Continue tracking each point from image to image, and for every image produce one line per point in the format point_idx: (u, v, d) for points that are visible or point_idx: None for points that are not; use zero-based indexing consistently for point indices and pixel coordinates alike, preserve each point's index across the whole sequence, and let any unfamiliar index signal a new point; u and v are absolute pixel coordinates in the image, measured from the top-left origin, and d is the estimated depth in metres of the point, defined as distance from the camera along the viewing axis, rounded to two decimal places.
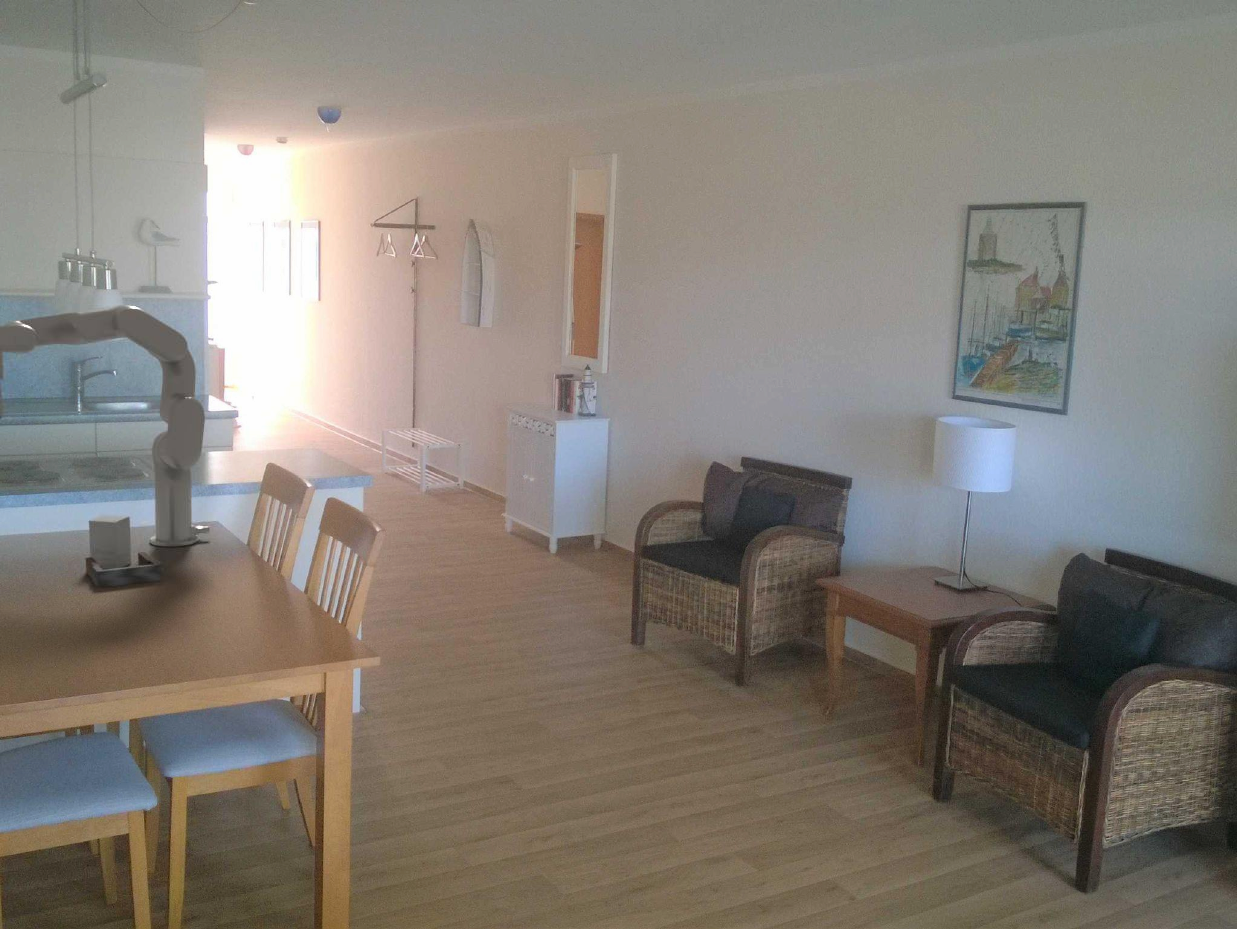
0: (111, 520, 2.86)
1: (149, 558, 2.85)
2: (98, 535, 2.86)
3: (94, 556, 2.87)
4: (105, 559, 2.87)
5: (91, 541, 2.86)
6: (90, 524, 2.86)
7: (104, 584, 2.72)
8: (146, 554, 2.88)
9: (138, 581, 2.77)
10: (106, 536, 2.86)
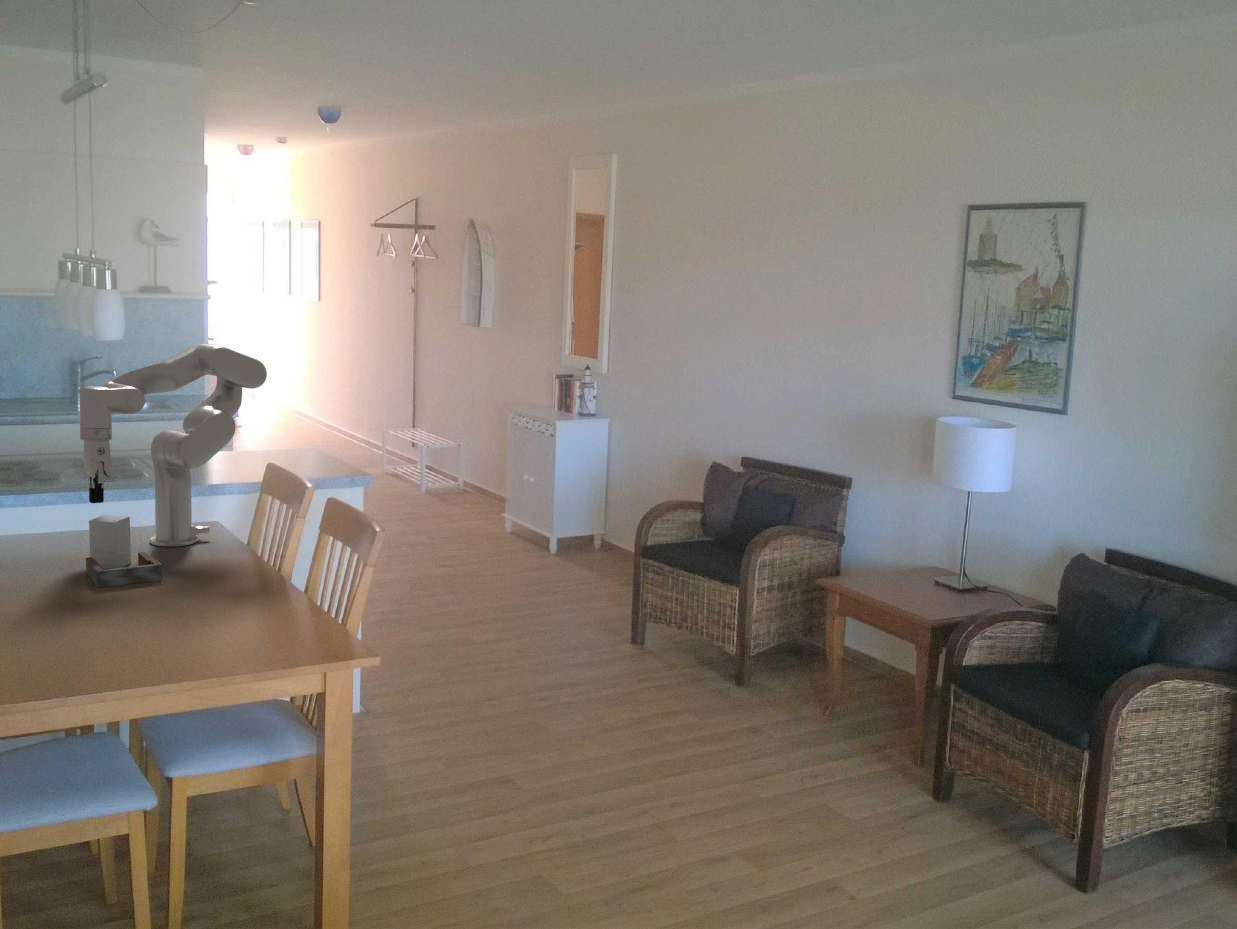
0: (111, 520, 2.86)
1: (149, 558, 2.85)
2: (98, 535, 2.86)
3: (94, 556, 2.87)
4: (105, 559, 2.87)
5: (91, 541, 2.86)
6: (90, 524, 2.86)
7: (104, 584, 2.72)
8: (146, 554, 2.88)
9: (138, 581, 2.77)
10: (106, 536, 2.86)
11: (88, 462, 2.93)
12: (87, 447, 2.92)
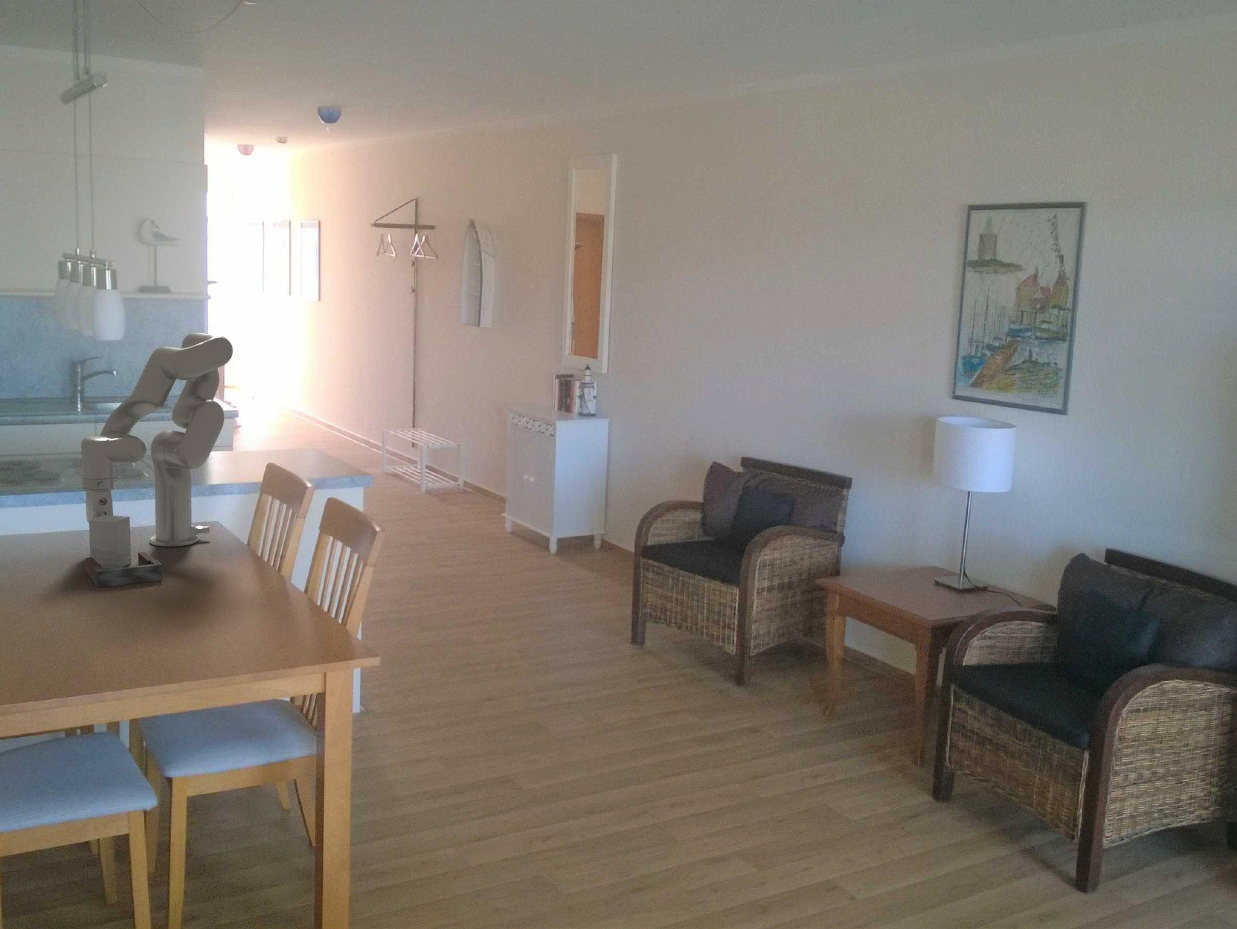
0: (111, 520, 2.86)
1: (149, 558, 2.85)
2: (98, 535, 2.86)
3: (94, 556, 2.87)
4: (105, 559, 2.87)
5: (91, 541, 2.86)
6: (90, 524, 2.86)
7: (104, 584, 2.72)
8: (146, 554, 2.88)
9: (138, 581, 2.77)
10: (106, 536, 2.86)
11: (90, 512, 2.95)
12: (89, 497, 2.95)
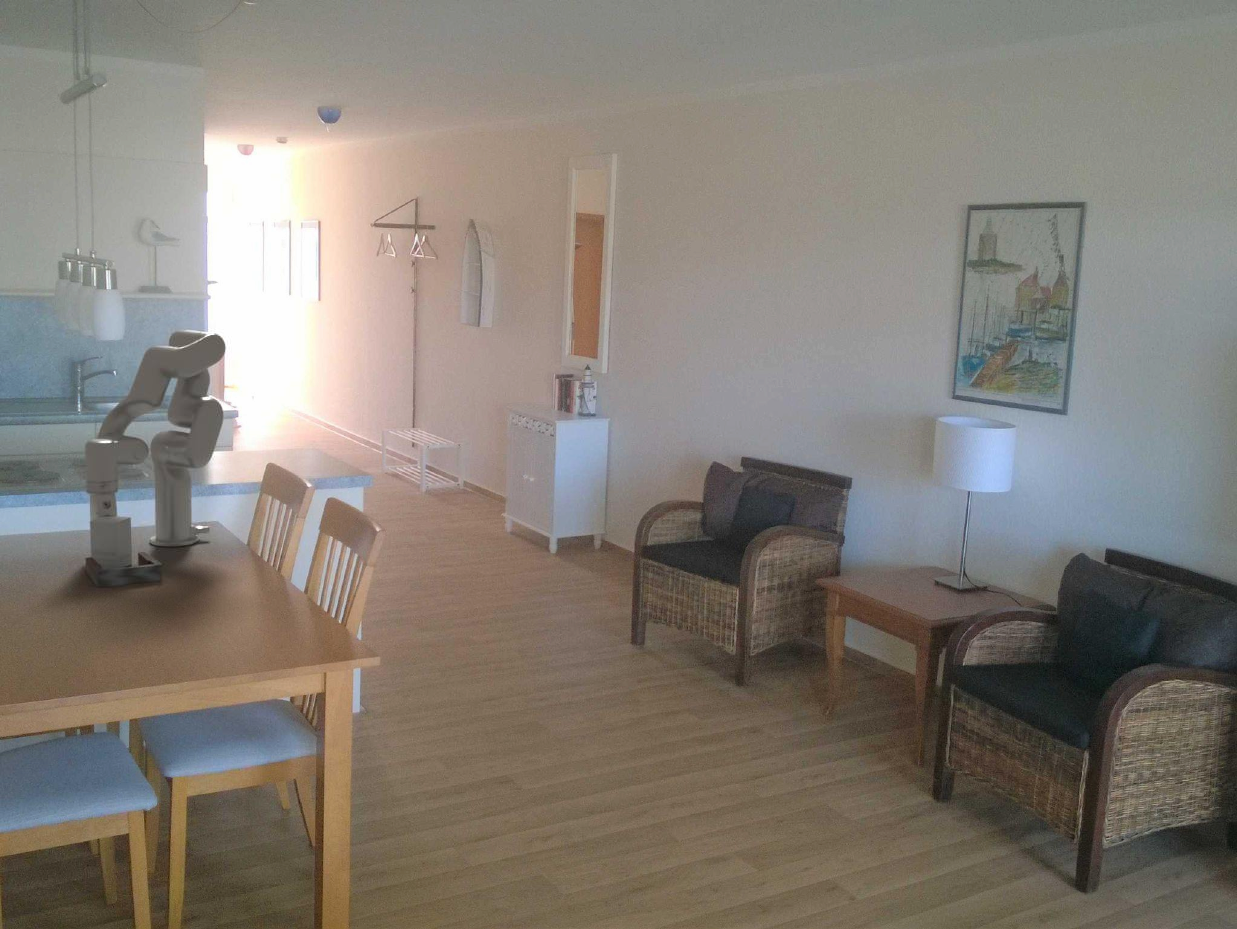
0: (112, 521, 2.85)
1: (149, 558, 2.85)
2: (99, 536, 2.85)
3: (95, 557, 2.86)
4: (106, 560, 2.86)
5: (92, 542, 2.86)
6: (91, 525, 2.85)
7: (104, 584, 2.72)
8: (146, 554, 2.88)
9: (138, 581, 2.77)
10: (107, 536, 2.85)
11: (94, 515, 2.91)
12: (93, 500, 2.91)
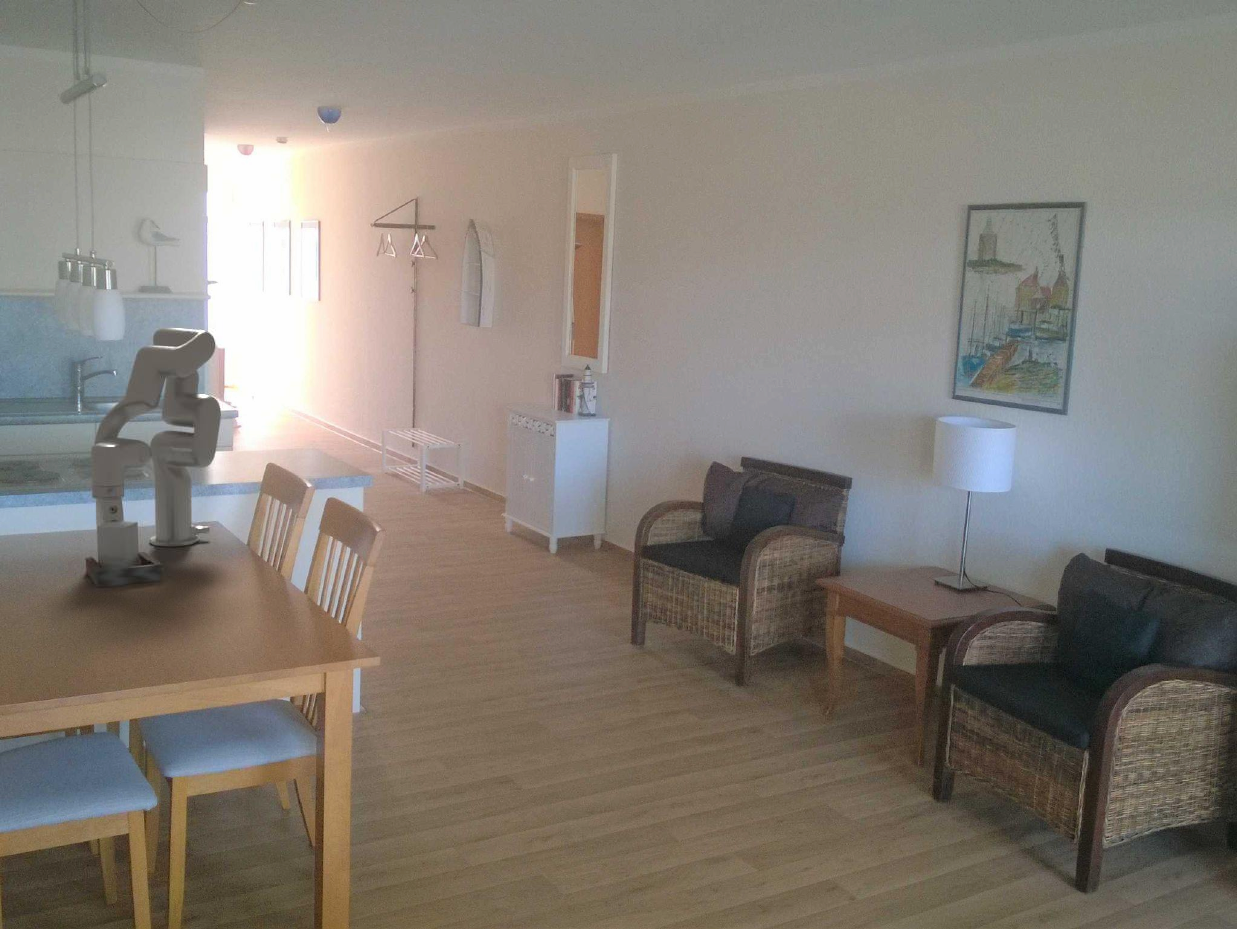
0: (119, 526, 2.81)
1: (149, 558, 2.85)
2: (106, 541, 2.80)
3: (102, 563, 2.81)
4: (113, 566, 2.81)
5: (99, 547, 2.81)
6: (98, 530, 2.80)
7: (104, 584, 2.72)
8: (146, 554, 2.88)
9: (138, 581, 2.77)
10: (115, 542, 2.80)
11: (100, 521, 2.86)
12: (99, 505, 2.86)
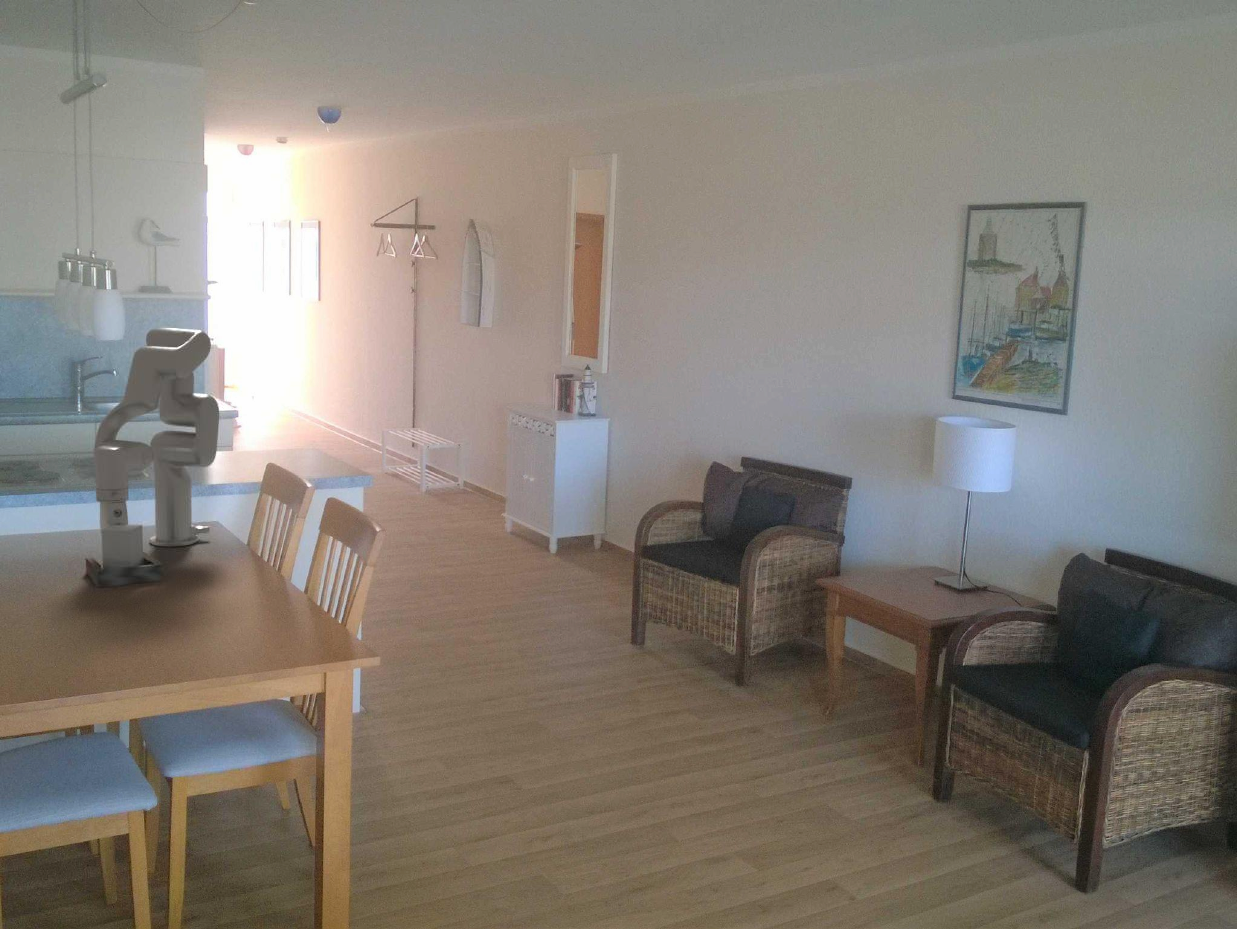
0: (125, 529, 2.78)
1: (149, 558, 2.85)
2: (111, 545, 2.77)
3: (107, 566, 2.78)
4: None
5: (104, 551, 2.78)
6: (103, 533, 2.77)
7: (104, 584, 2.72)
8: (146, 554, 2.88)
9: (138, 581, 2.77)
10: (120, 545, 2.77)
11: (105, 524, 2.83)
12: (103, 509, 2.83)
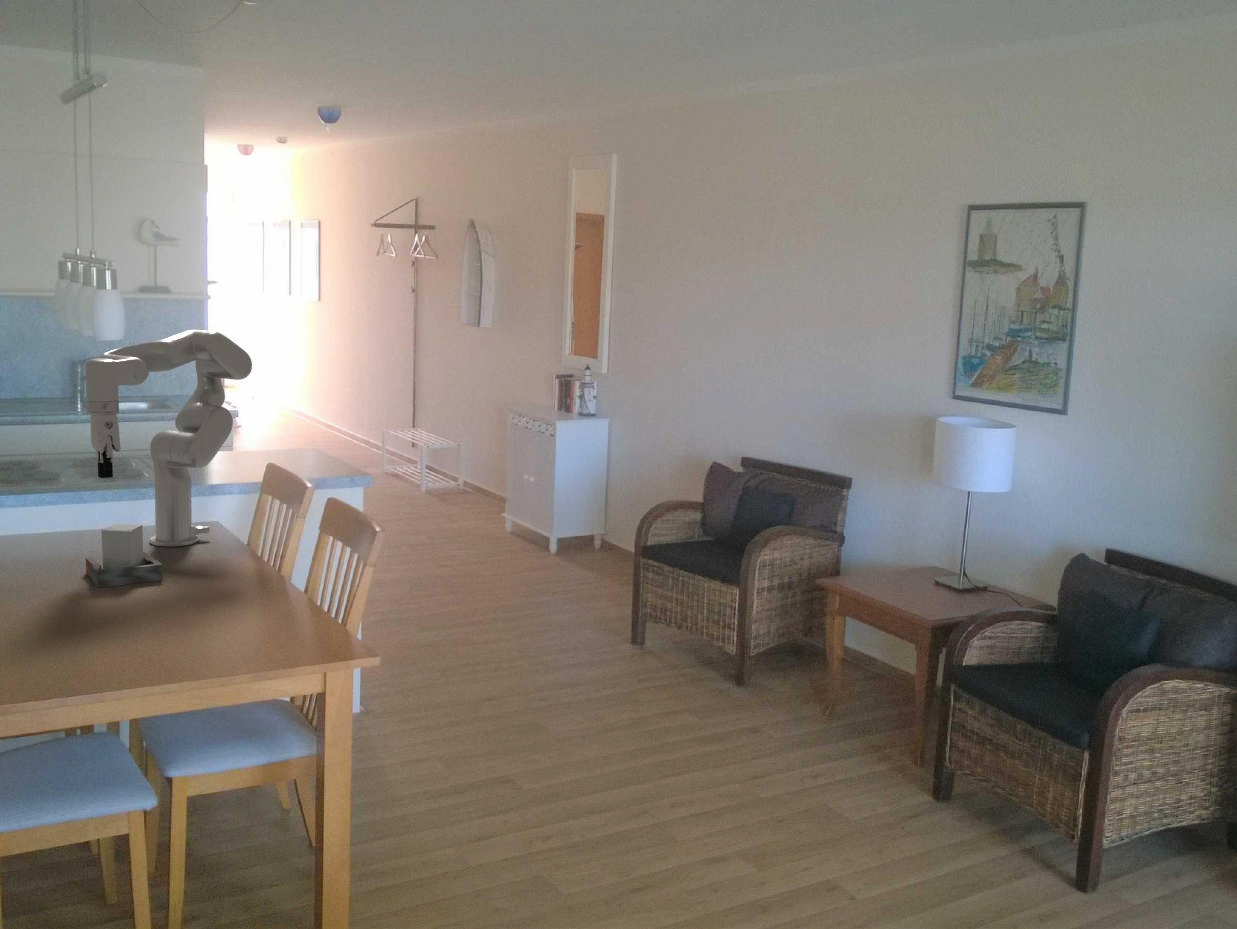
0: (125, 529, 2.78)
1: (149, 558, 2.85)
2: (111, 545, 2.77)
3: (107, 566, 2.78)
4: None
5: (104, 551, 2.78)
6: (103, 534, 2.77)
7: (104, 584, 2.72)
8: (146, 554, 2.88)
9: (138, 581, 2.77)
10: (120, 545, 2.77)
11: (96, 436, 2.86)
12: (94, 421, 2.86)
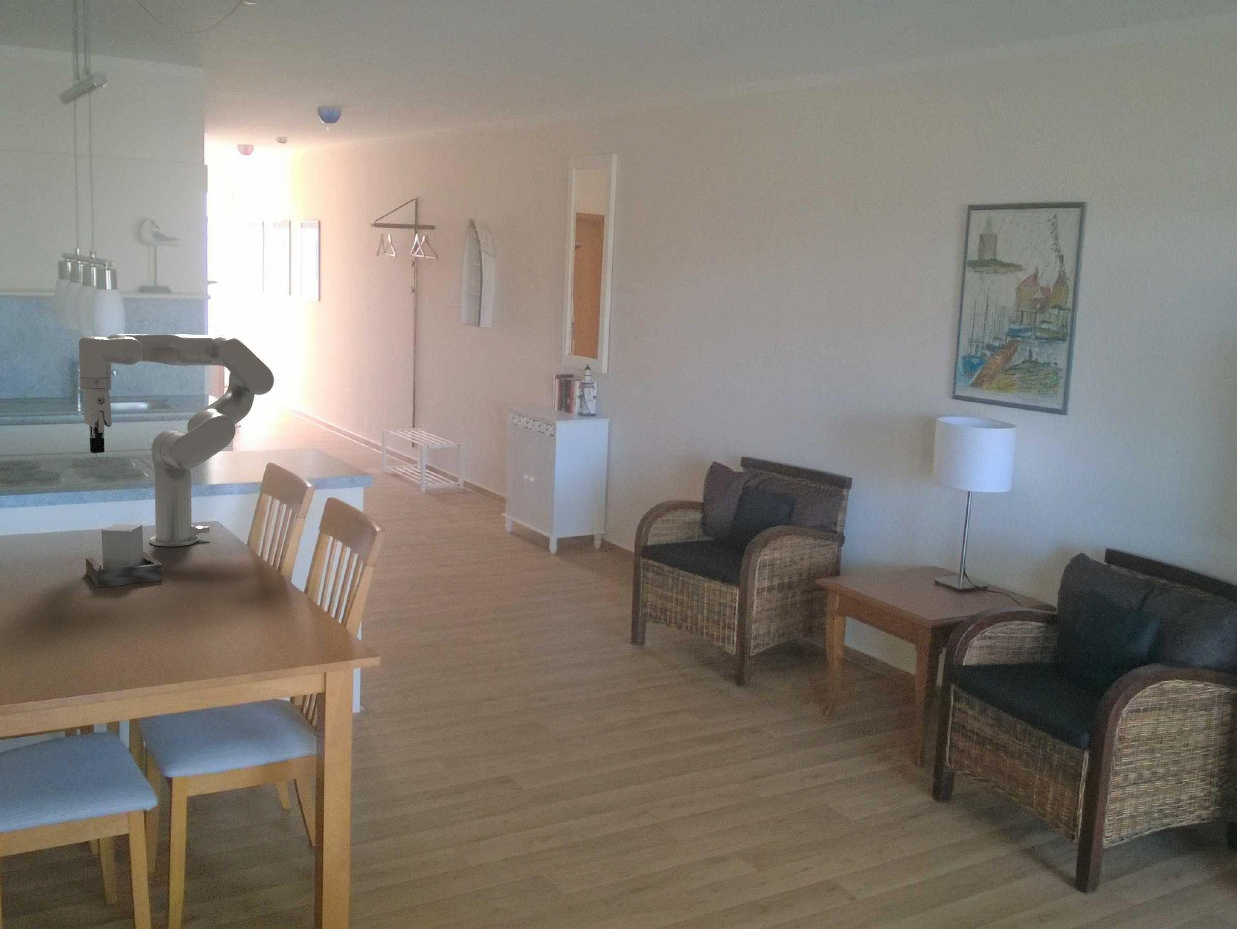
0: (125, 529, 2.78)
1: (149, 558, 2.85)
2: (111, 545, 2.77)
3: (107, 566, 2.78)
4: None
5: (104, 551, 2.78)
6: (103, 534, 2.77)
7: (104, 584, 2.72)
8: (146, 554, 2.88)
9: (138, 581, 2.77)
10: (120, 545, 2.77)
11: (88, 412, 2.94)
12: (87, 397, 2.94)
